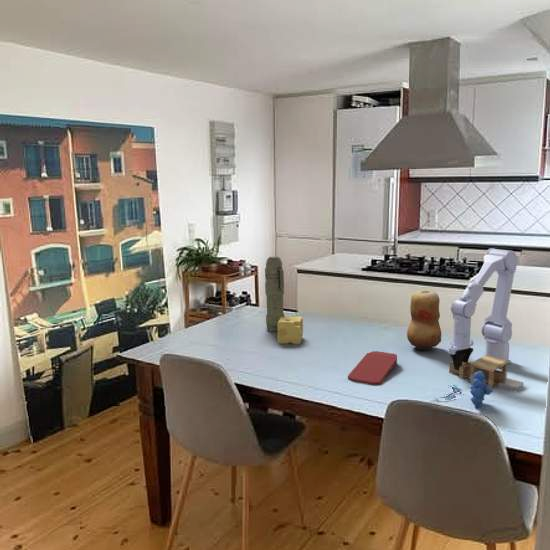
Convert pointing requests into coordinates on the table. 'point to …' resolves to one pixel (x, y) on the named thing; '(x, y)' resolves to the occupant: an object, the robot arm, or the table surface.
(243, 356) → the table surface
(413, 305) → the butternut squash
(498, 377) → the brown wooden stepped bar
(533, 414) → the table surface
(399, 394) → the table surface
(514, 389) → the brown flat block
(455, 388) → the decorative blades
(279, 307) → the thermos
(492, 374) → the small wooden table
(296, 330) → the cheese
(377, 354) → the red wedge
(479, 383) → the grapes
